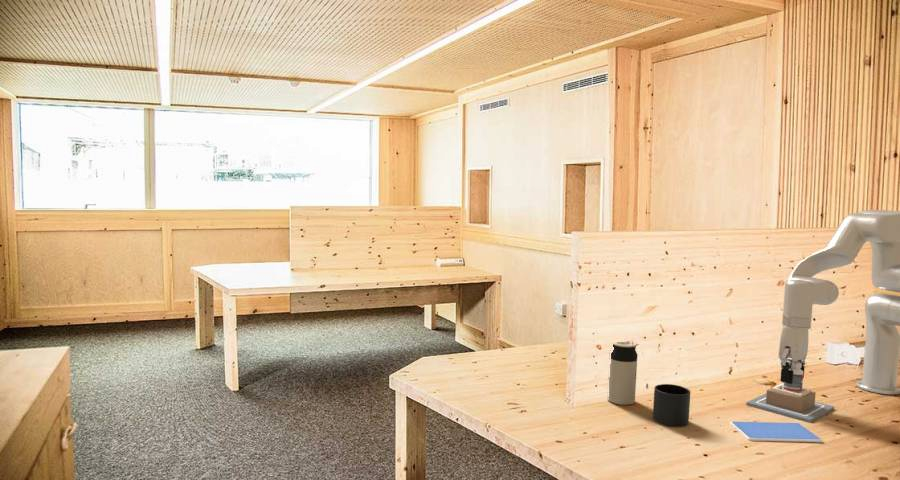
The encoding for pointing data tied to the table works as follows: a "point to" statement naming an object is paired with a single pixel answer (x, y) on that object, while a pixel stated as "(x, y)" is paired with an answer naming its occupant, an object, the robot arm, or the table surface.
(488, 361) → the table surface
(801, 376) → the pill bottle
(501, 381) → the table surface
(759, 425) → the blue rectangular panel
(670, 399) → the mug
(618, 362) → the travel mug
